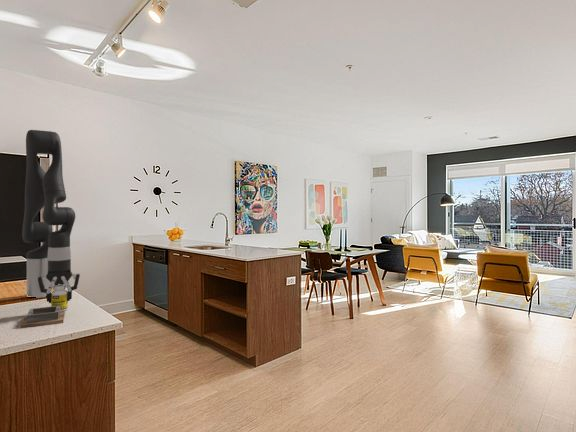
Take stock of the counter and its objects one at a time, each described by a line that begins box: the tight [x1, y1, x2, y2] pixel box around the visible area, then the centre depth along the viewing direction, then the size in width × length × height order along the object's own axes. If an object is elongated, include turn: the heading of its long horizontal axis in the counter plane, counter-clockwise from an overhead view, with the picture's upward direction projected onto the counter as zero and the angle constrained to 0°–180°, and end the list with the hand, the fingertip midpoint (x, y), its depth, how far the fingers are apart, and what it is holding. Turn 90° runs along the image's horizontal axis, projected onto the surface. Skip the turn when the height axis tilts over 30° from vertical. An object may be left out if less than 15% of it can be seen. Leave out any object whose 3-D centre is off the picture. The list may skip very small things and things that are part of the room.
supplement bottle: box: [50, 284, 69, 312], centre depth 135 cm, size 5×5×10 cm
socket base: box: [19, 306, 66, 329], centre depth 124 cm, size 12×12×4 cm
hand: (59, 301), depth 135 cm, fingers closed on supplement bottle, 5 cm apart
